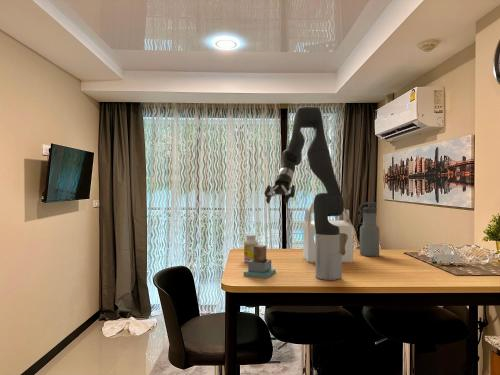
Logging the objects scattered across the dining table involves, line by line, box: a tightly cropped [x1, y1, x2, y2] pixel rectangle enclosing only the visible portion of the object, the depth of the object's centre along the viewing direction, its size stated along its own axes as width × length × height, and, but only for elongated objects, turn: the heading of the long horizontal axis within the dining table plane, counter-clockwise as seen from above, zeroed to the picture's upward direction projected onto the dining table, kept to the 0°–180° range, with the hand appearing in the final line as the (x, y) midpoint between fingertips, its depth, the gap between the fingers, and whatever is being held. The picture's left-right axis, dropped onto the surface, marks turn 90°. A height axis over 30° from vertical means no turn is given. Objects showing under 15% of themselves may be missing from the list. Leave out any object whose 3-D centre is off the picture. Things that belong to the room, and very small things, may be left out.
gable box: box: [302, 202, 354, 263], centre depth 166 cm, size 22×13×28 cm, turn 91°
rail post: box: [254, 244, 267, 263], centre depth 137 cm, size 4×4×10 cm
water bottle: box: [357, 201, 380, 257], centre depth 178 cm, size 10×10×28 cm
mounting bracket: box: [428, 244, 464, 264], centre depth 157 cm, size 12×6×11 cm, turn 79°
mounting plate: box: [243, 268, 276, 279], centre depth 137 cm, size 10×10×2 cm
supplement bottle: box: [243, 233, 259, 263], centre depth 161 cm, size 7×7×13 cm
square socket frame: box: [247, 258, 272, 273], centre depth 137 cm, size 7×7×4 cm
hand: (276, 202), depth 155 cm, fingers open, 8 cm apart
